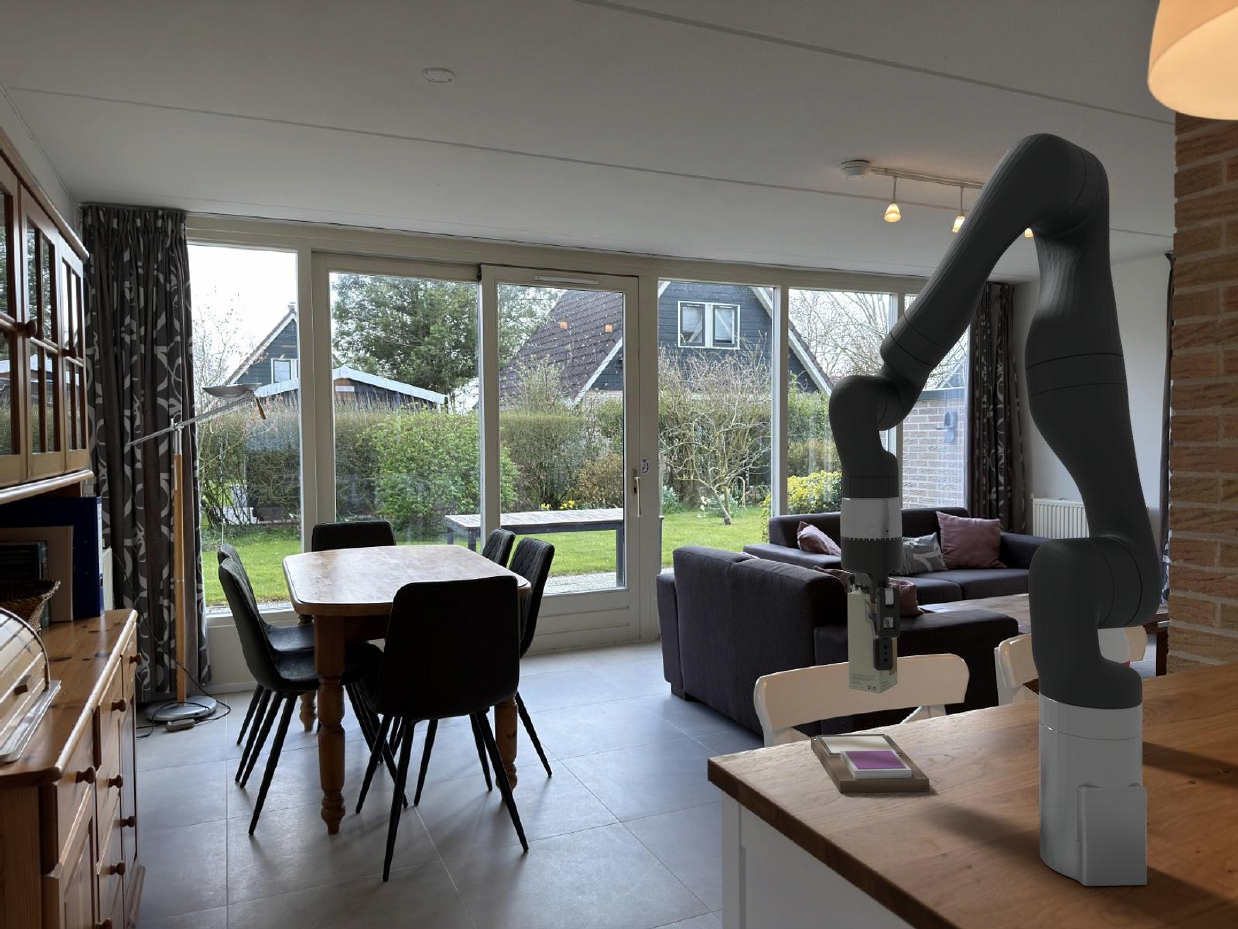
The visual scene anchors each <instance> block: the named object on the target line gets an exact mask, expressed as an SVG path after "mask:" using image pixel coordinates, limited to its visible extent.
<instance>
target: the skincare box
mask: <svg viewBox="0 0 1238 929" xmlns="http://www.w3.org/2000/svg"><path fill="white" fill-rule="evenodd" d="M862 596H863V597H864V598H865V599H866V600H867V601H868V602H869V604H870V609H871V612H872V613H874V614H877V607H876V603H875V604H872V603H871V601H870V595H869V594H864V595H861V593H859V592H858V591H854V592H851V593H848V592H847V637H848V638H847V640H848V641H847V643H848V644H847V646H848V647H847V648H848V649H847V650H848V655H847V656H848V657H847V659H848V662H847V663H848V689H849V690H856V691H861V692H869V693H873V694H874V693H875V694H882V693H884V692H887V691H888V690H890V689H892V688H893V687H895V686H897V685H898V684H899V683H898V637H895V639H893V668H892V669H891V670H884V671H878V670H876V669H875V668H874V666H873V637H872V630H871V625H870V624H869V623H867V622H866V620H865V605H864V598H862ZM886 607H887V606H886ZM884 627H887V626H886V624H885V623H884Z"/></svg>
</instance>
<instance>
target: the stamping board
mask: <svg viewBox="0 0 1238 929" xmlns="http://www.w3.org/2000/svg"><path fill="white" fill-rule="evenodd" d="M814 739H816V740H814ZM810 748H811V750H812V751H813V753H814V754H815V756H816V757H817V759H818V761H819V762H820V764H821V765H822V767H823V768H824V770H825V772H826V773H827V775H828V776H829V778H830V779H831V780H832V782H833V784H834V785H835V787H836V788H837V790H838V792H839V793H841V794H842V793H843V794H845V793H846V794H847V793H849V794H850V793H853V794H854V793H898V792H900V793H901V792H903V793H904V792H906V793H907V792H930V778H929V777H928V776H927V775H926V774H925V772H923V771H922V770H921V769H920V767H919V766H918V765H917V764H916V763H915V762H914V761H913V760H912V759H911V758H910V756H908V754H906V753H905V751H904V750H903V749H902V748H901V747H900V746H899V745H898V744H897V742H895V741H894V740H893V739H892V737H891V736H890V735H887V734H885V733H858V734H857V733H856V734H854V733H853V734H852V733H851V734H849V733H848V734H815V736H810Z"/></svg>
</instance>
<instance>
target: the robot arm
mask: <svg viewBox="0 0 1238 929" xmlns="http://www.w3.org/2000/svg"><path fill="white" fill-rule="evenodd" d="M1109 183H1110V182H1109V178H1108V174H1107V171H1106V169H1105V167H1104V164H1103V163H1102V162H1101V161H1100V159H1099V158H1098V157H1097V156H1096V155H1095V154H1093V153H1092V152H1090V151H1089V150H1087V149H1085V148H1082V147H1081V146H1080V145H1077V144H1076V143H1073V142H1071V141H1070V140H1067V139H1065V138H1063V137H1061V136H1059V135H1056V134H1052V133H1048V132H1045V133H1044V132H1043V133H1042V132H1041V133H1035V134H1030V135H1027V136H1026V137H1023V138H1021V139H1019V140H1018V141H1016V143H1014V144H1013V145H1012V146H1010V147H1009V148H1008V149H1007V151H1006V152H1005V153H1003V155H1002V156H1001V158H1000V159H999V160H998V162H997V163H996V164H995V166H994V168H993V169H992V170H991V172H990V174H989V176H988V178H987V179H986V180H985V182H984V184H983V186H982V188H981V189H980V192H978V195H977V197H976V198H975V200H974V203H973V204H972V206H971V207H970V209H969V211H968V212H967V215H966V217H965V218H964V220H963V221H962V223H961V225H960V227H959V229H958V230H957V232H956V233H955V235H954V237H953V239H952V241H951V242H950V244H949V246H948V248H947V249H946V251H945V252H944V255H943V257H942V258H941V259H940V262H939V263H938V266H937V267H936V269H935V270H934V272H933V273H932V275H931V276H930V278H929V279H928V280H927V282H926V283H925V284H924V286H923V287H922V289H921V290H920V292H919V293H918V294H917V295H916V297H915V298H914V300H913V301H912V302H911V304H910V305H909V306H908V307H907V309H906V310H905V311H904V313H903V314H902V315H901V316H900V318H898V320H897V322H896V323H895V324H894V325H893V327H892V328H891V329H890V331H888V333H887V334H886V336H885V337H884V339H883V340H882V342H881V344H880V347H879V354H880V357H881V360H882V361H883V364H882V366H881V368H880V369H879V371H878V372H877V373H876V374H875V375H864V374H851V375H847V376H845V377H843V378H841V379H840V380H838V382H836V384H835V385H834V387H833V389H832V391H831V394H830V397H829V401H828V410H827V411H828V420H829V425H830V429H831V433H832V436H833V437H832V438H833V441H834V445H835V449H836V452H837V456H838V459H839V462H840V465H841V476H840V477H841V506H840V514H839V516H840V517H839V519H840V520H839V521H840V526H839V528H840V566H841V569H842V570H843V571H846V572H849V574H847V578H846V580H847V594H848V593H851V592H854V591H858V592H859V593H861V595H864V594H869V595H870V601H871V603H872V604H875V603H876V607H877V614H874V613H872V612H871V609H870V604H869V602H868V601H867V600H866V599H865V598H864V597H863V596H862V598H864V605H865V620H866V622H867V623H869V624H870V625H871V630H872V637H873V666H874V668H875V669H876V670H878V671H884V670H891V669H892V668H893V639H895V637H897V638H899V637H900V636H901V612H900V610H901V608H900V607H901V606H900V605H901V604H900V601H901V600H900V593H901V592H900V589H899V587H892V586H890V579H889V575H890V574H891V573H899V572H900V571H901V570H902V569H903V566H904V565H903V564H904V562H903V525H902V524H903V522H902V521H903V519H902V518H903V517H902V516H903V515H902V510H901V503H900V483H899V482H900V477H899V476H900V474H899V472H900V471H899V461H898V458H897V457H896V455H895V454H894V453H893V452H891V451H889V450H886V449H885V448H884V446H883V443H882V439H881V433H880V432H884V431H889V430H891V429H893V428H895V427H896V426H898V425H899V424H901V423H902V422H903V421H904V420H905V419H906V418H907V417H908V415H909V414H910V413H911V412H912V410H913V408H914V407H915V405H916V403H917V401H918V400H919V397H920V396H921V393H922V392H923V390H924V388H925V386H926V384H927V383H928V379H929V378H930V375H931V374H932V372H933V371H934V370H935V369H936V368H937V367H938V366H939V364H940V363H941V362H942V361H943V360H944V359H945V357H946V356H947V355H948V354H949V353H950V351H951V350H952V349H953V348H954V347H955V345H956V344H957V343H958V342H959V341H960V339H961V338H962V337H963V335H964V334H965V333H966V331H968V330H967V329H968V328H969V326H970V324H971V323H972V321H973V318H974V316H975V315H976V311H977V309H978V306H979V303H980V300H981V297H982V295H983V291H984V289H985V287H986V284H987V281H988V279H989V277H990V275H991V273H992V272H993V270H994V268H995V267H996V265H997V264H998V262H999V260H1000V259H1001V258H1002V257H1003V255H1004V254H1005V252H1006V251H1007V250H1009V248H1010V247H1011V246H1012V244H1014V242H1016V240H1018V238H1019V237H1020V236H1021V235H1023V233H1025V231H1027V230H1028V229H1029V230H1030V231H1031V233H1032V237H1033V241H1034V244H1035V249H1036V254H1037V263H1038V269H1039V279H1040V280H1039V284H1040V285H1039V286H1040V287H1039V294H1038V299H1037V304H1036V307H1035V310H1034V313H1033V316H1032V319H1031V323H1030V326H1029V329H1028V333H1027V337H1026V341H1025V346H1024V373H1025V383H1026V392H1027V399H1028V400H1027V401H1028V407H1029V412H1030V415H1031V419H1032V420H1033V423H1034V425H1035V427H1036V428H1037V430H1038V432H1039V434H1040V435H1041V437H1042V439H1044V441H1045V443H1046V444H1047V445H1048V446H1049V448H1050V449H1051V450H1052V452H1053V453H1054V455H1055V456H1056V458H1058V460H1059V461H1060V463H1061V464H1062V466H1064V468H1065V470H1066V471H1067V472H1068V474H1069V475H1070V476H1071V478H1072V480H1073V482H1074V483H1075V485H1076V487H1077V489H1078V492H1079V494H1080V496H1081V500H1082V504H1083V508H1084V512H1085V517H1086V522H1087V523H1086V524H1087V528H1088V536H1086V537H1066V538H1054V539H1050V540H1046V541H1044V542H1043V543H1042V544H1041V545H1039V546H1038V547H1037V549H1036V550H1035V551H1034V553H1033V556H1032V557H1031V562H1030V564H1029V570H1028V578H1027V580H1028V584H1027V585H1028V586H1027V589H1028V606H1029V619H1030V621H1029V622H1030V635H1031V637H1030V639H1031V640H1030V641H1031V652H1032V658H1033V663H1034V666H1035V670H1036V674H1037V676H1038V677H1037V678H1038V690H1039V691H1038V780H1039V781H1038V789H1039V792H1038V796H1039V797H1038V799H1039V800H1038V801H1039V805H1038V807H1039V808H1038V809H1039V811H1038V812H1039V856H1040V859H1041V860H1042V862H1043V863H1044V864H1045V865H1046V866H1047V867H1048V868H1051V869H1052V870H1054V872H1057V873H1060V875H1063V876H1067V877H1068V878H1071V879H1073V880H1076V881H1078V882H1079V883H1080V884H1081V885H1083V886H1085V887H1096V886H1097V887H1100V886H1101V887H1104V886H1145V885H1147V884H1148V881H1147V880H1148V879H1147V878H1148V876H1147V875H1148V873H1147V872H1148V870H1147V869H1148V867H1147V866H1148V862H1147V861H1148V853H1147V852H1148V849H1147V848H1148V846H1147V845H1148V842H1147V841H1148V840H1147V839H1148V838H1147V833H1148V832H1147V831H1148V829H1147V828H1148V826H1147V824H1148V822H1147V818H1148V817H1147V816H1148V815H1147V812H1148V810H1147V808H1148V806H1147V803H1148V802H1147V800H1148V798H1147V797H1148V796H1147V795H1148V794H1147V793H1148V792H1147V789H1146V788H1145V787H1144V786H1143V680H1142V677H1141V675H1140V673H1139V672H1138V671H1137V670H1136V669H1135V668H1133V667H1131V666H1130V667H1129V666H1126V665H1124V664H1121V663H1118V662H1115V661H1112V660H1108V659H1106V658H1104V657H1103V656H1102V654H1101V651H1100V646H1099V638H1098V629H1111V628H1125V629H1127V628H1136V627H1140V626H1143V625H1146V624H1147V623H1149V622H1151V621H1152V619H1153V618H1154V617H1155V616H1156V614H1157V612H1158V611H1159V609H1160V607H1161V602H1162V597H1163V596H1162V595H1163V577H1162V576H1163V575H1162V568H1161V563H1160V556H1159V553H1158V550H1157V549H1158V548H1157V546H1156V540H1155V537H1154V532H1153V528H1152V524H1151V521H1150V516H1149V511H1148V508H1147V503H1146V500H1145V495H1144V491H1143V487H1142V486H1143V485H1142V482H1141V478H1140V472H1139V465H1138V458H1137V453H1136V446H1135V441H1134V435H1133V426H1132V421H1131V411H1130V400H1129V398H1130V397H1129V388H1128V379H1127V371H1126V363H1125V357H1124V349H1123V344H1122V339H1121V333H1120V324H1119V320H1118V319H1119V318H1118V317H1119V316H1118V310H1117V301H1116V294H1115V288H1114V283H1113V275H1112V270H1111V253H1110V252H1111V251H1110V250H1111V248H1110V246H1111V245H1110V244H1111V242H1110V241H1111V240H1110V234H1111V232H1110V231H1111V230H1110V184H1109ZM852 573H853V574H852ZM886 606H887V607H886ZM884 623H885V624H886V626H887V627H884Z"/></svg>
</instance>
